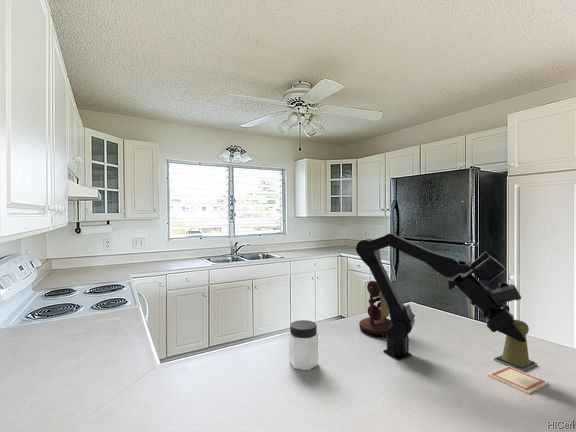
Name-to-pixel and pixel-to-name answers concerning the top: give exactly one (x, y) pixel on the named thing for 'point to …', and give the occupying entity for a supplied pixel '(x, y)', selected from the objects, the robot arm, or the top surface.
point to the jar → (303, 345)
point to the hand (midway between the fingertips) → (522, 337)
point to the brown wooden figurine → (376, 312)
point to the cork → (517, 346)
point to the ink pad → (521, 368)
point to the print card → (518, 379)
